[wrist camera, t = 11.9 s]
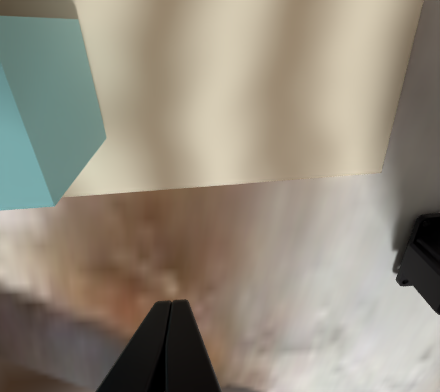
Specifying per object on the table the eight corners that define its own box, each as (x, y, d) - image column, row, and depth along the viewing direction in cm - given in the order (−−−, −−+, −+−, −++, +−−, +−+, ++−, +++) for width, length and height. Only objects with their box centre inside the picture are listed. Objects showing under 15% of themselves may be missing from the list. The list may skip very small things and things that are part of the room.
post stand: (430, -89, 13) (670, -203, 6) (372, 166, 19) (465, 240, 12) (-155, -67, 12) (-574, -177, 5) (-20, 195, 18) (-141, 293, 11)
